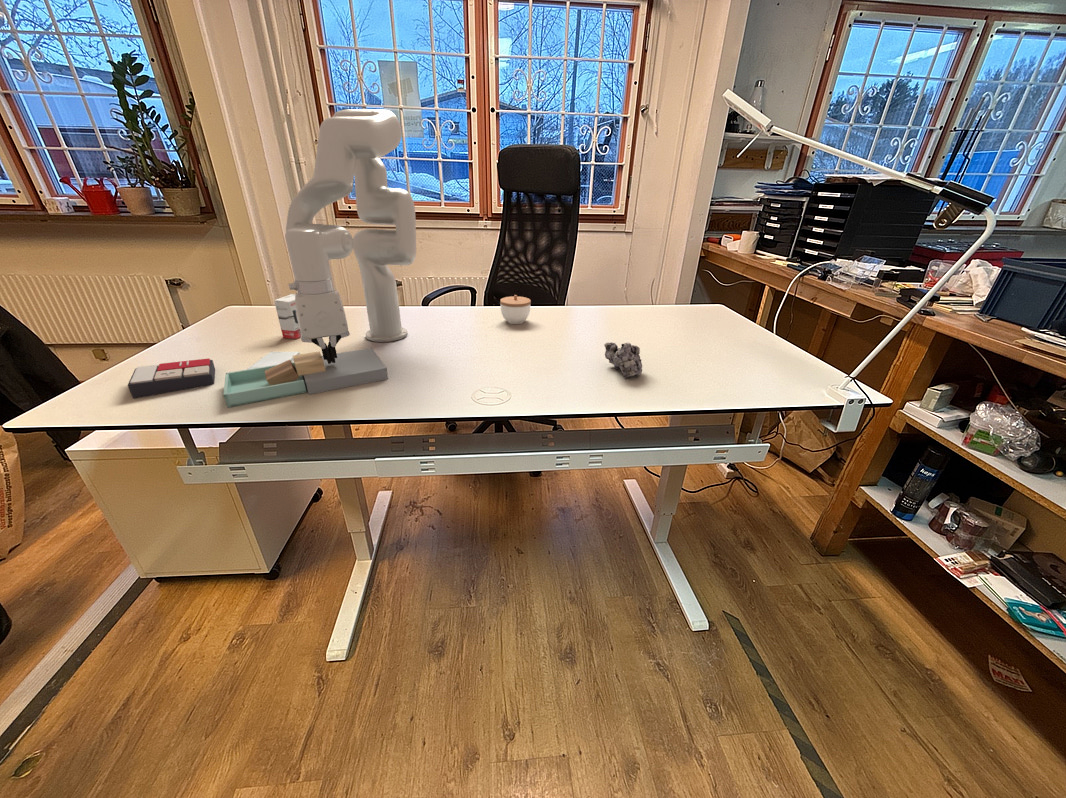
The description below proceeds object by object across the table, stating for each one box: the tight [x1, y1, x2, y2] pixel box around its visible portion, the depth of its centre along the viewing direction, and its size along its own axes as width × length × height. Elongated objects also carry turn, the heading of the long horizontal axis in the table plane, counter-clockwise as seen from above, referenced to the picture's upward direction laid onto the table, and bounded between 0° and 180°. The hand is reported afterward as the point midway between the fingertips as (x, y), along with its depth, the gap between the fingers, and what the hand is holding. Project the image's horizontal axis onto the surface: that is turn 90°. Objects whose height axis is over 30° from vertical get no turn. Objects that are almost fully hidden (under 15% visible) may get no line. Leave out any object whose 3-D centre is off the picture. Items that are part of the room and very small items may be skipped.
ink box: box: [274, 293, 301, 340], centre depth 131 cm, size 8×5×12 cm, turn 169°
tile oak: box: [293, 350, 326, 376], centre depth 102 cm, size 6×6×3 cm
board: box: [302, 347, 389, 395], centre depth 107 cm, size 16×18×3 cm
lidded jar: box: [499, 294, 532, 325], centre depth 149 cm, size 11×11×9 cm
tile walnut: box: [265, 359, 299, 386], centre depth 100 cm, size 6×6×3 cm
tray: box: [222, 361, 308, 408], centre depth 99 cm, size 13×15×3 cm
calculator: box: [127, 358, 216, 399], centre depth 100 cm, size 11×4×15 cm
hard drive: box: [245, 351, 301, 370], centre depth 112 cm, size 2×8×12 cm
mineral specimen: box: [603, 341, 643, 380], centre depth 111 cm, size 12×9×10 cm
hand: (331, 361), depth 104 cm, fingers closed
